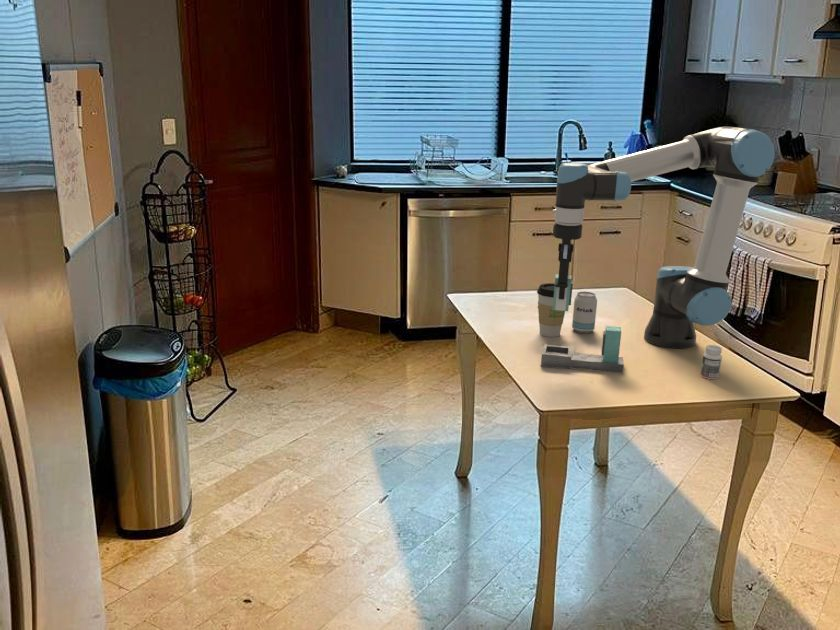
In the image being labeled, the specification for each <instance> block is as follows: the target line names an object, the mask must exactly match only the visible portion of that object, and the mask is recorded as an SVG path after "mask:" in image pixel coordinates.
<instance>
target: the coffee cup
mask: <svg viewBox="0 0 840 630" xmlns="http://www.w3.org/2000/svg"><path fill="white" fill-rule="evenodd" d="M554 287H555V282H554V283H553V282H552V283H551V282H549V283H541V284H540V285H539V287H538V288H537V289H536V294H537V297H538V300H537V308H538V311H537V312H538V313H537V314H538V323H539V334H540V335H541V336H542V337H543V336H544V337H547V338H557V337H559V336H560V335H561V330H562V325H563V324H564V319H565V315H566V311H558V310H553V299H554Z"/></svg>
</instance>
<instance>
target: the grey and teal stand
mask: <svg viewBox="0 0 840 630" xmlns="http://www.w3.org/2000/svg"><path fill="white" fill-rule="evenodd" d="M602 332H603V334H602V343H601V354H592V353H583V352H582V353H581V352H573V347H572V346H565V345H564V346H563V345H562V346H561V345H554V344H553V345H552V344H543V345H542V352H541V361H540V367H544V368H556V369H567V370H571V369H577V370H578V369H579V370H587V371H588V370H589V371H598V372H606V373H607V372H609V373H618V374H624V366H625V365H624V364H625V362H624V357H621V356H620V347H621V339H622V327H621V326H613V325H605V330H603V331H602Z"/></svg>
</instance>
